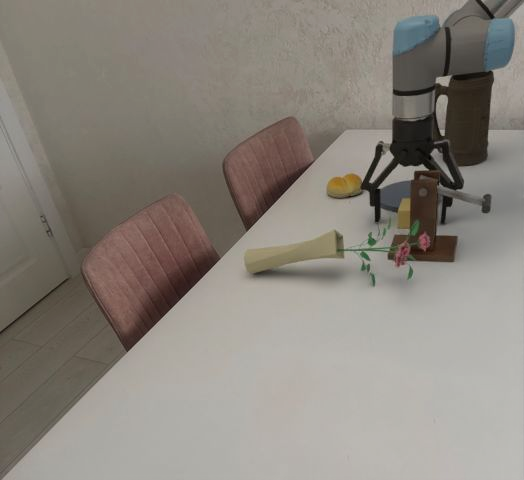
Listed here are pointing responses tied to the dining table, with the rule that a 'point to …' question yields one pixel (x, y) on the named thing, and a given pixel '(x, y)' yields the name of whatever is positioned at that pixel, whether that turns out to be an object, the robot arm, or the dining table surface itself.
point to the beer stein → (466, 116)
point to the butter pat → (404, 213)
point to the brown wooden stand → (426, 221)
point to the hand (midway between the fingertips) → (409, 220)
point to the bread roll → (344, 186)
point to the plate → (396, 195)
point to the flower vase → (327, 251)
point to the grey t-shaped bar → (465, 196)
